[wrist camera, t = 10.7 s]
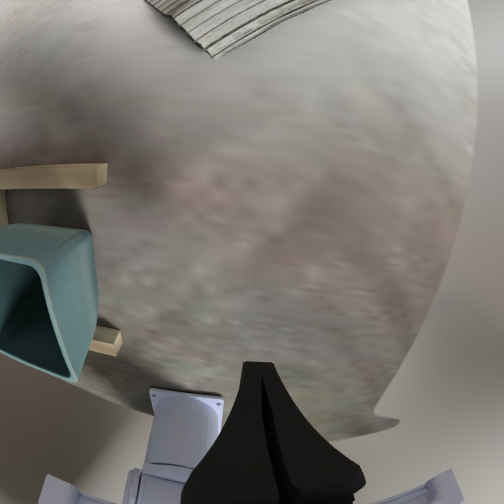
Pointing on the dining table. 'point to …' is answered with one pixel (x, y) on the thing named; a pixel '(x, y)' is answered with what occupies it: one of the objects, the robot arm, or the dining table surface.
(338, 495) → the robot arm
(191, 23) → the mat
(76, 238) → the flower pot
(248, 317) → the dining table surface
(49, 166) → the cream wooden frame
